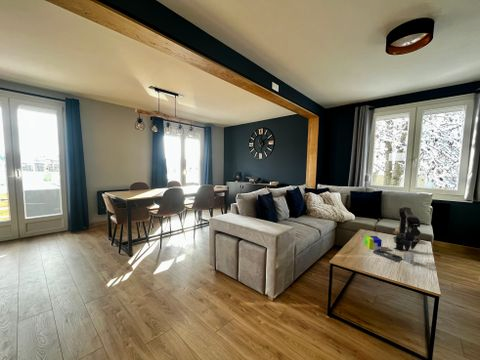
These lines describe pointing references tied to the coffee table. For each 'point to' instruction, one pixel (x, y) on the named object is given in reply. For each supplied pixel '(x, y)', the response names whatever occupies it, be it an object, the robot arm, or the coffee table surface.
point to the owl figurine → (398, 230)
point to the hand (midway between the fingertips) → (409, 250)
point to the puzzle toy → (373, 242)
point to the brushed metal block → (408, 257)
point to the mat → (408, 263)
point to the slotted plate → (388, 256)
